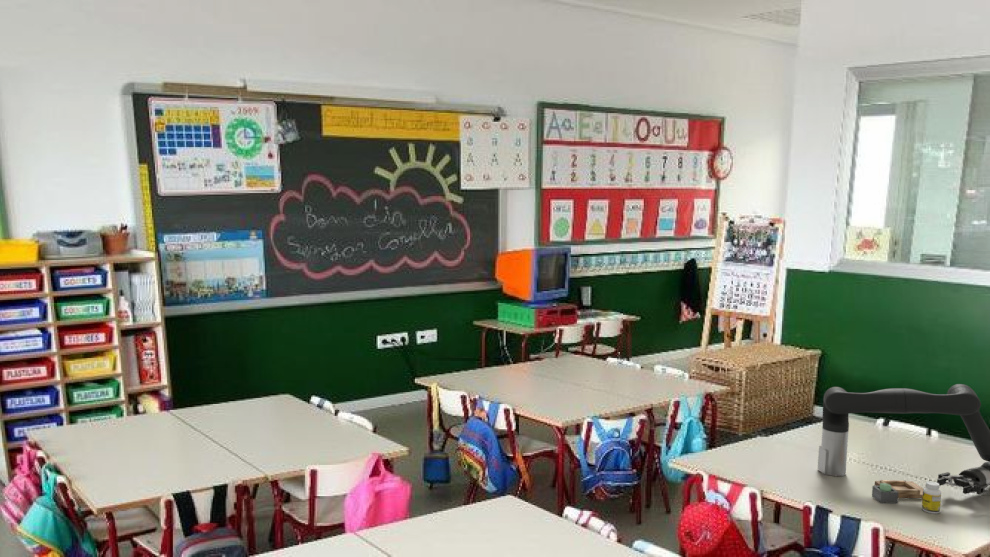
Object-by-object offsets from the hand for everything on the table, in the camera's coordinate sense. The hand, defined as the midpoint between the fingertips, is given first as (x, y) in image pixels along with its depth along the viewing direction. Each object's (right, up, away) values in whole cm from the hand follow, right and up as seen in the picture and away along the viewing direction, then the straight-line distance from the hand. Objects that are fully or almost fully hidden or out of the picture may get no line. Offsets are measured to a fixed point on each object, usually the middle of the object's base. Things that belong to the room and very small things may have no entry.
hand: (951, 486), depth 258 cm
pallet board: (-10, -5, +12) cm, 16 cm away
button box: (-21, -6, +4) cm, 22 cm away
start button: (-21, -4, +4) cm, 22 cm away
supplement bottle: (-10, -7, -5) cm, 13 cm away
